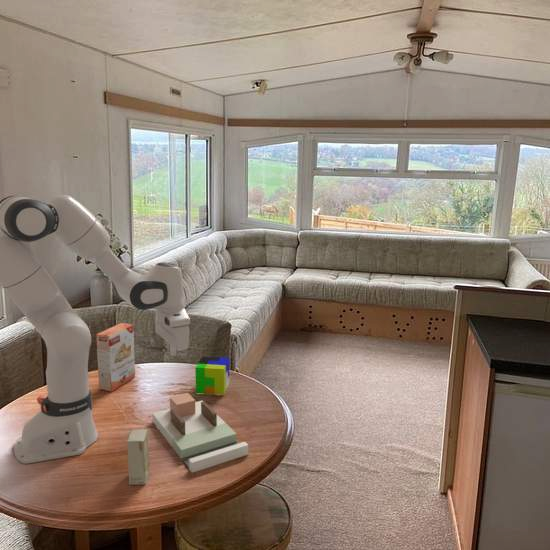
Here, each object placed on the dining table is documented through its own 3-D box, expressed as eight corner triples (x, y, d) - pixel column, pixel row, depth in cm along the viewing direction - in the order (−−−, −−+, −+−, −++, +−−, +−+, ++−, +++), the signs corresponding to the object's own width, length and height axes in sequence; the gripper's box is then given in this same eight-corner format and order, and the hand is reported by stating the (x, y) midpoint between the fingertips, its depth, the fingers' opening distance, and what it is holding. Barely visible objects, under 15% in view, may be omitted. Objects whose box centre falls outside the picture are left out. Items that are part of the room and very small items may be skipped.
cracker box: (112, 392, 183) (109, 336, 178) (98, 389, 185) (94, 333, 180) (136, 377, 195) (134, 324, 190) (123, 374, 197) (120, 321, 193)
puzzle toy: (229, 383, 192) (229, 358, 189) (224, 395, 182) (223, 369, 180) (202, 381, 192) (202, 356, 190) (195, 394, 183) (195, 367, 180)
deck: (192, 472, 138) (191, 462, 137) (152, 421, 164) (152, 413, 163) (248, 454, 147) (248, 444, 146) (202, 408, 172) (202, 400, 172)
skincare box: (146, 485, 133) (144, 441, 130) (128, 485, 132) (126, 442, 130) (149, 470, 139) (148, 428, 136) (133, 470, 139) (131, 428, 136)
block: (177, 418, 160) (176, 404, 159) (170, 410, 165) (169, 397, 164) (195, 413, 163) (195, 400, 162) (187, 405, 168) (187, 392, 167)
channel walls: (182, 435, 150) (181, 422, 149) (170, 421, 158) (170, 409, 157) (216, 425, 156) (216, 413, 155) (204, 412, 163) (204, 401, 163)
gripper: (149, 306, 171) (151, 346, 174) (172, 324, 154) (174, 367, 157) (167, 303, 174) (169, 342, 177) (192, 320, 157) (193, 363, 161)
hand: (171, 354), depth 167 cm, fingers closed
